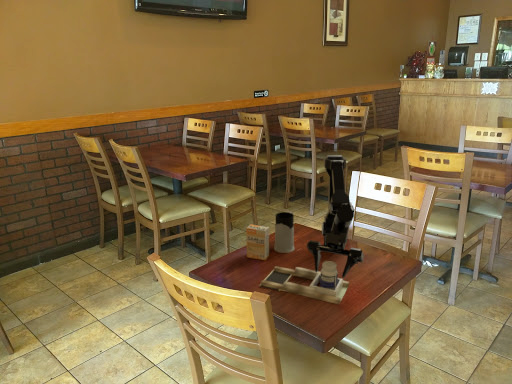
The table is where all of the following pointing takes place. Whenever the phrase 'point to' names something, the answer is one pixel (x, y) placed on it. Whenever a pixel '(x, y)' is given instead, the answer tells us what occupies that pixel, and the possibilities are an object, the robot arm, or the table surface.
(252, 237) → the supplement box
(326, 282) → the pill bottle
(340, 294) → the pad
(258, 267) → the table surface
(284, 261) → the table surface
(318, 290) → the collar carriage
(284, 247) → the glass holder
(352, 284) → the table surface
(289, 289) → the oak channel
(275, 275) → the tray
